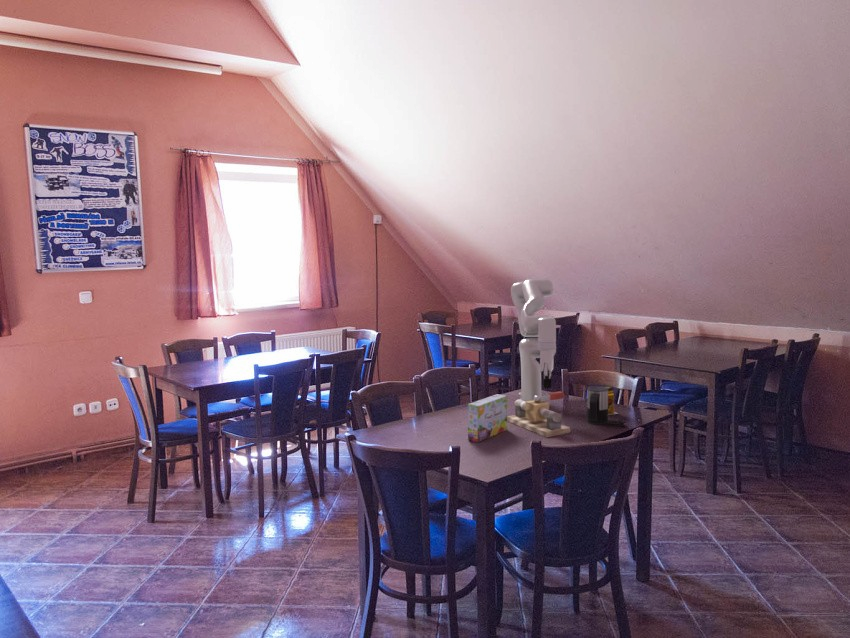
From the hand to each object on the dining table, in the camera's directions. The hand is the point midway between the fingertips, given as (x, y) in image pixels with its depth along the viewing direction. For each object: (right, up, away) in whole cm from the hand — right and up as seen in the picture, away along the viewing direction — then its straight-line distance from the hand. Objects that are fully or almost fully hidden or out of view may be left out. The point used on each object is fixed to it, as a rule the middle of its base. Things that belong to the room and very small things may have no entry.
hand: (547, 387), depth 278 cm
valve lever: (-1, -5, -6) cm, 8 cm away
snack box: (-28, -18, -17) cm, 37 cm away
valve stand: (-6, -16, -7) cm, 18 cm away
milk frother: (+24, -15, -6) cm, 29 cm away
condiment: (+29, -13, +11) cm, 33 cm away
